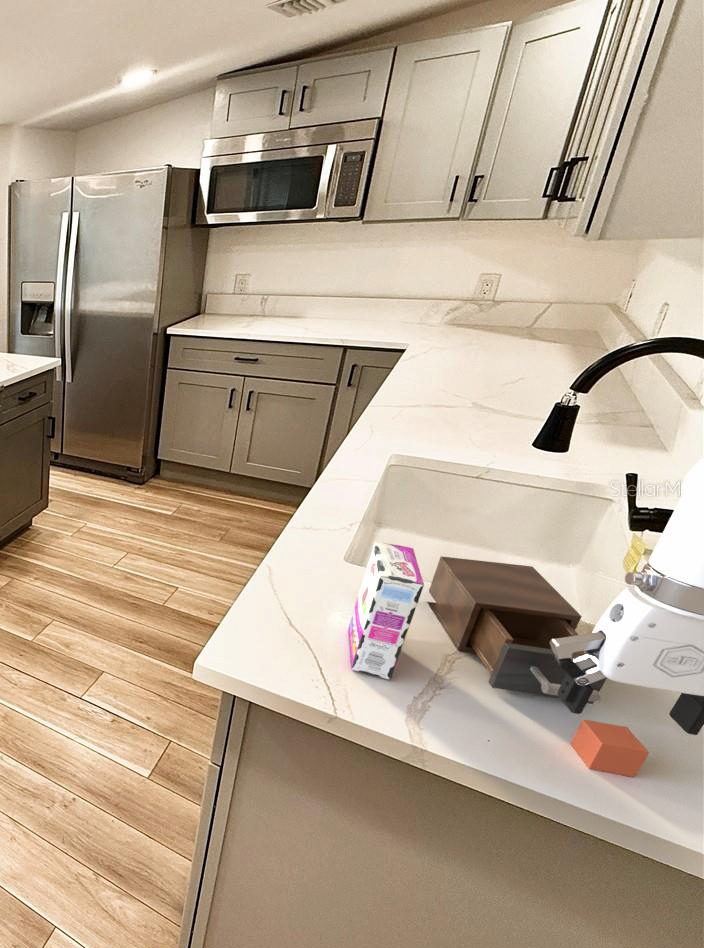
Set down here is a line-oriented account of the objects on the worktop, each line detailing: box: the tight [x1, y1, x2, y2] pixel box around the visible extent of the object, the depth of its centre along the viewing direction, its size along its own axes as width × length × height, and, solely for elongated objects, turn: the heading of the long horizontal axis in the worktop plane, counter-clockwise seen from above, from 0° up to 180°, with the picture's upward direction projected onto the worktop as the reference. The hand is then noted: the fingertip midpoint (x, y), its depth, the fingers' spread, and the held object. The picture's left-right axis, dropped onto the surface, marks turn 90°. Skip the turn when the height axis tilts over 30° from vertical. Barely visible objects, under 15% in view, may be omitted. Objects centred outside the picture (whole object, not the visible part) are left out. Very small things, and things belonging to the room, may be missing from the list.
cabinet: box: [426, 556, 583, 654], centre depth 93 cm, size 14×12×9 cm
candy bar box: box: [347, 541, 425, 681], centre depth 89 cm, size 11×5×16 cm, turn 149°
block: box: [570, 719, 650, 778], centre depth 72 cm, size 4×4×4 cm
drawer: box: [468, 608, 608, 705], centre depth 83 cm, size 17×10×7 cm, turn 158°
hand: (623, 715), depth 70 cm, fingers open, 9 cm apart
